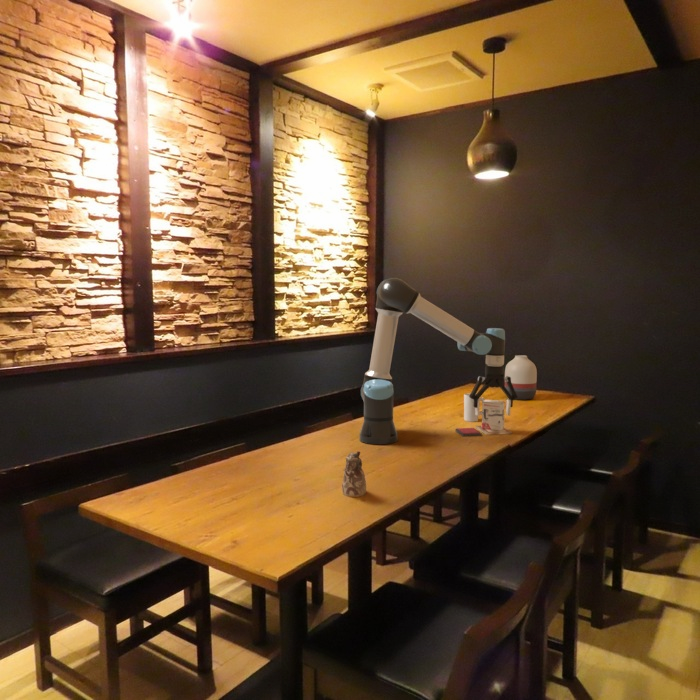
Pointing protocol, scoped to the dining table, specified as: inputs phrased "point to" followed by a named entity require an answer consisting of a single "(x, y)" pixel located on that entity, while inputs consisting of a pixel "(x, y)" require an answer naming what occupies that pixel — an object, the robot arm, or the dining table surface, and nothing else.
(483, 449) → the dining table surface
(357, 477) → the figurine
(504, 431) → the board
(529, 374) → the vase
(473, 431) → the ink pad
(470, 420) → the mug
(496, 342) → the robot arm
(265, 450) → the dining table surface
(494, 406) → the ink box
